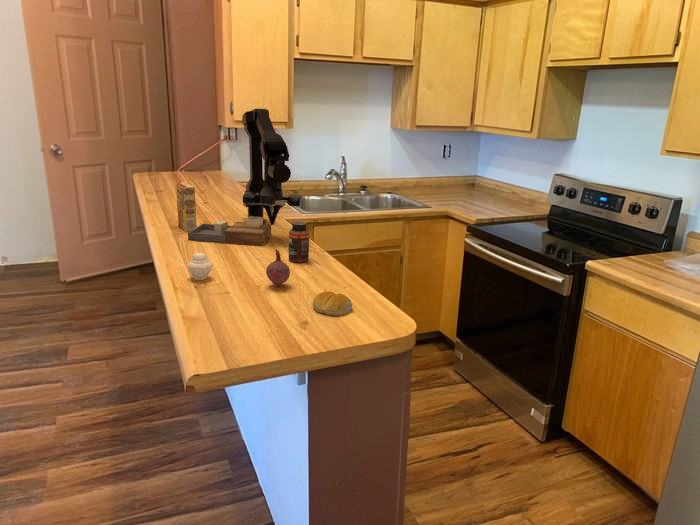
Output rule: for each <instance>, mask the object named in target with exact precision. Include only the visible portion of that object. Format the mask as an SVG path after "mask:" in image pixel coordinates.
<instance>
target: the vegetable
mask: <svg viewBox="0 0 700 525" xmlns="http://www.w3.org/2000/svg"><path fill="white" fill-rule="evenodd" d="M275 256H276V258H275V260H274V261H272V262H270V263H269V264H268V265H267V267H266V269H265V274H266V276H267V279H268V280H269V281H270V282H271V283H272V284H273V285H274V286H276V287H280V286H282V284H285V282H287V281H289V278H290V277H291V276H290V275H291V270H290V267H289V265H288V264H286V262H284V261H283V260H282V259H281V253H280V251H279V249H278V248H275Z"/></svg>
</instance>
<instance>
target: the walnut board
mask: <svg viewBox="0 0 700 525" xmlns="http://www.w3.org/2000/svg"><path fill="white" fill-rule="evenodd" d="M230 226H231V227H229V228H228V229H227V230H225V242H224V244H229V245H231V244H232V245H242V246H254V247H255V246H256V247H262V246H263V245H264V244H265V243H266V242H267V241H268V240H269V239H270V238H271V237H272V225H271V223H270V224H268V223H263V225H262V226H260V227H246V223H245V221H244V222H242V221H236V222H234V223H233V224H232V225H230ZM270 236H271V237H270Z"/></svg>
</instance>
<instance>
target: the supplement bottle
mask: <svg viewBox="0 0 700 525" xmlns="http://www.w3.org/2000/svg"><path fill="white" fill-rule="evenodd" d="M309 256H310V232H309V230H308V229H307V223H306V222H305V221H293V222H292V226H291V229H290V230H289V231H288V260H289V261H290V262H292V263H298V264H299V263H306V262H307V261H308V260H309V259H310V258H309Z"/></svg>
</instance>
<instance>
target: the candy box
mask: <svg viewBox="0 0 700 525" xmlns="http://www.w3.org/2000/svg"><path fill="white" fill-rule="evenodd" d="M175 188H176V189H175V190H176V207H177V208H176V209H177V223H178V226H180V227H179V228H181V229H182V230H183V231H184V232H190V231H192V230H193V229H195V228H196V227H198V226H197V208H196V207H197V206H196V205H197V201H196V187H195V186H194V185H193V184H191V183H189V182H176V183H175Z"/></svg>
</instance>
